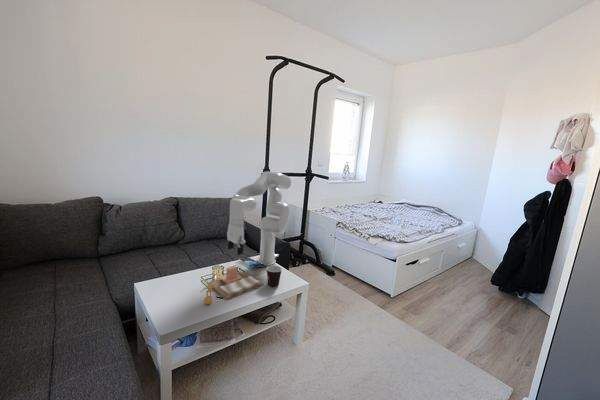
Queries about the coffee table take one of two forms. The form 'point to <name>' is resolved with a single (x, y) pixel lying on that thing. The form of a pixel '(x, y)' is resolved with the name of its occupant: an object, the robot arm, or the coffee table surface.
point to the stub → (231, 275)
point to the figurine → (208, 298)
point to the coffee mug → (273, 275)
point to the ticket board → (236, 286)
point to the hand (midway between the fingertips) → (235, 251)
